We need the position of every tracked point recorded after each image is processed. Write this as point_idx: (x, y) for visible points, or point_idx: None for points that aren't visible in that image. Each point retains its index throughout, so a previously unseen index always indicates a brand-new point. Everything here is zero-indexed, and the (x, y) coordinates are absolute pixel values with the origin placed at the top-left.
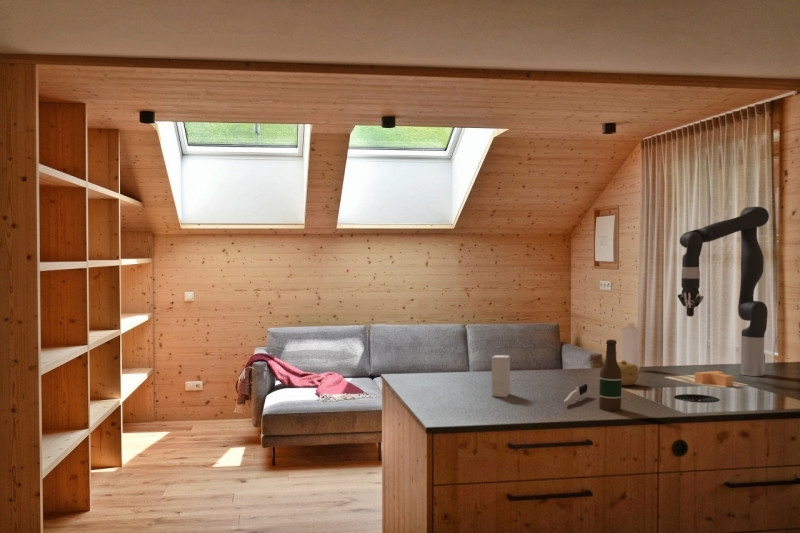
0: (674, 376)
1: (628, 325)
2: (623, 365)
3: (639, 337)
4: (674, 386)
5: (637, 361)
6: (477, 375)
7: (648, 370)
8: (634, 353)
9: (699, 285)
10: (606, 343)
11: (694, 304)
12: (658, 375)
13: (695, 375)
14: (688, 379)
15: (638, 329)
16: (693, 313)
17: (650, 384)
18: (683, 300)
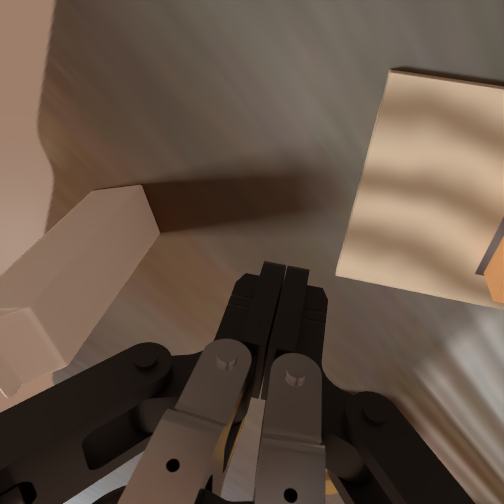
0: (350, 229)
1: (14, 382)
2: (334, 493)
3: (60, 281)
4: (442, 346)
5: (129, 222)
6: (90, 496)
7: (143, 136)
8: (122, 269)
9: None
10: None
11: (385, 501)
12: (259, 209)
13: (492, 292)
14: (432, 244)
15: (27, 317)
16: (325, 312)
17: (366, 368)
18: (91, 470)
